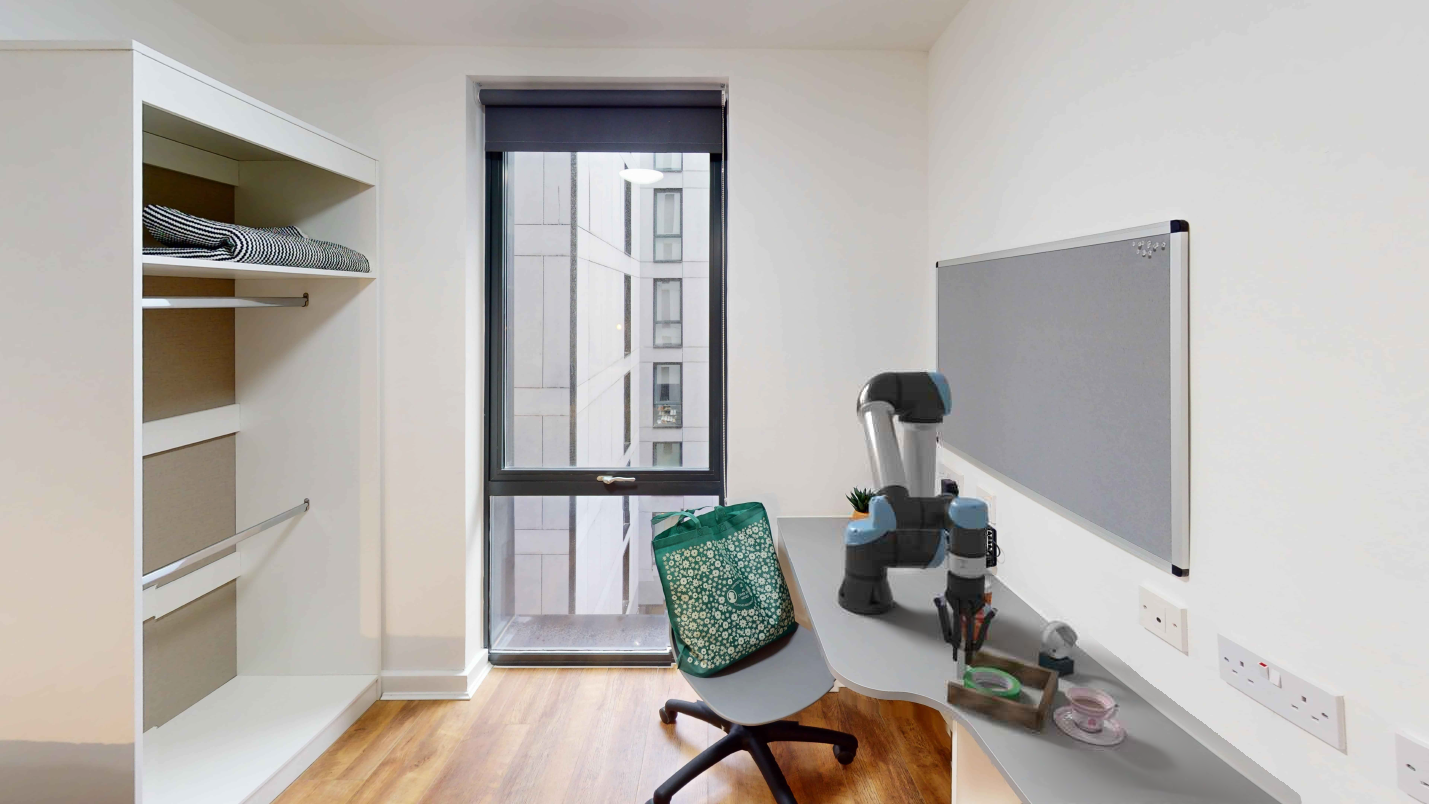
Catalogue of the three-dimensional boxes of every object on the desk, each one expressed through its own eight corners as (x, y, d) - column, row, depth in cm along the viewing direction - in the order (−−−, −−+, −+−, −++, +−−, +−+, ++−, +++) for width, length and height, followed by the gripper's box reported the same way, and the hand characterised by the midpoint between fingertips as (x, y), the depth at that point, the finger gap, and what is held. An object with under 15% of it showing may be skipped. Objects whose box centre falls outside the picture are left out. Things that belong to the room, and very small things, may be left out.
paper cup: (960, 640, 158) (962, 586, 156) (956, 626, 166) (958, 574, 164) (994, 644, 156) (997, 589, 155) (989, 630, 164) (991, 577, 162)
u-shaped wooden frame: (947, 701, 133) (947, 683, 132) (971, 664, 147) (972, 647, 147) (1041, 733, 122) (1042, 713, 122) (1057, 689, 137) (1058, 671, 136)
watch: (1080, 672, 144) (1083, 625, 142) (1052, 679, 141) (1055, 631, 140) (1058, 660, 149) (1061, 614, 148) (1032, 666, 146) (1034, 620, 145)
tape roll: (988, 673, 144) (988, 661, 143) (1032, 698, 134) (1033, 686, 134) (952, 686, 139) (953, 674, 138) (995, 713, 129) (996, 700, 129)
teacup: (1061, 740, 120) (1063, 710, 120) (1046, 704, 132) (1048, 676, 131) (1134, 751, 117) (1136, 719, 116) (1112, 713, 129) (1114, 684, 128)
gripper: (929, 570, 138) (926, 674, 140) (994, 584, 130) (988, 694, 132) (940, 560, 143) (937, 660, 146) (1003, 573, 136) (997, 678, 138)
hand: (961, 676), depth 139 cm, fingers closed
